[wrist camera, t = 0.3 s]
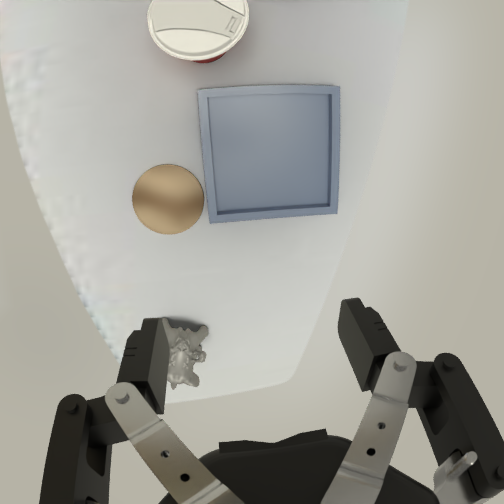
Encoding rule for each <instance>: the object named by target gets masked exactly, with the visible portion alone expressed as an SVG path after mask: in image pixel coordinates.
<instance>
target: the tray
mask: <svg viewBox="0 0 504 504" xmlns="http://www.w3.org/2000/svg"><path fill="white" fill-rule="evenodd" d="M198 104H199V117H200V129H201V140H202V152H203V162H204V173H205V183H206V193H207V202H208V212H209V221H210V224H212V223H223V222H234V221H245V220H257V219H270V218H283V217H296V216H310V215H324V214H337V210H338V190H339V164H340V86H322V85H258V86H237V87H223V88H211V89H201V90H198Z"/></svg>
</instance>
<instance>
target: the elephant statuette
mask: <svg viewBox="0 0 504 504" xmlns="http://www.w3.org/2000/svg"><path fill="white" fill-rule="evenodd" d="M162 322H163V326H164V329H165V332H166V336H167V339H168V342H169V349H170V357H169V365H168V375H167V380H168V381H169V382H170V383H171V387H172V389H173V390H174V389H175V388H176V386H177V384H182V383H185V384H187V385H190V386H194V387H197V386H198V385H199V377H198V376H197V375H196V374H195V373H194V372H193V365H194V364H195V362H204V361H205V358H206V353H205V352H204V351H202V348H201V347H200V346H199V344H200V343H201V342H202V341H203V340H204V339H205V337H206V336H207V335H208V329H207V327H206V326H201V327H200V328H199V330H198V331H197V332H192V331H191V330H190V329H188V328H187V329H186V330H185V331H184V330H183V328H182V327H179V328H171V326H170V325H169V322H168V320H167V319H166V318H162ZM197 355H198V357H199V359H196V358H197Z"/></svg>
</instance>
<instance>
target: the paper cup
mask: <svg viewBox="0 0 504 504" xmlns="http://www.w3.org/2000/svg"><path fill="white" fill-rule="evenodd" d="M147 19H148V26H149V31H150V34H151V36H152V38H153V40H154V42H155V43H156V44H157V45H158V47H160V48H161V49H162V50H163V51H164V52H166V53H168V54H169V55H171V56H174V57H176V58H180V59H184V60H191V61H194V62H198V63H209V62H212V61H215V60H217V59H219V58H220V57H222V56H223V55H224V54H225V53H226V51H228V50H229V49H230V48H232V47H233V46H234V45H235V44H236V43H237V42H238V41H239V40H240V39H241V37H242V35H243V34H244V32H245V30H246V28H247V25H248V20H249V8H248V4H247V1H246V0H152V2H151V4H150V6H149V9H148V13H147Z"/></svg>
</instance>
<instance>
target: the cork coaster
mask: <svg viewBox="0 0 504 504" xmlns="http://www.w3.org/2000/svg"><path fill="white" fill-rule="evenodd" d="M132 202H133V208H134V211H135V213H136V215H137V217H138V219H139V220H140V221H141V222H142V223H143V224H144V225H145V226H146V227H147V228H149V229H150V230H152V231H155V232H157V233H161V234H177V233H180V232H183V231H185V230H187V229H189V228H190V227H191V226H193V225H194V224H195V223H196V221H197V220H198V219H199V217H200V215H201V213H202V210H203V204H204V195H203V190H202V187H201V185H200V183H199V181H198V180H197V179H196V177H195V176H194V175H193V174H192V173H191V172H189V171H188V170H186V169H184V168H182V167H179V166H176V165H168V164H167V165H159V166H156V167H153V168H151V169H149V170H148V171H146V172H145V173H144V174H143V175H142V176H141V177H140V178H139V180H138V181H137V183H136V185H135V187H134V190H133V195H132Z"/></svg>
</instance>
